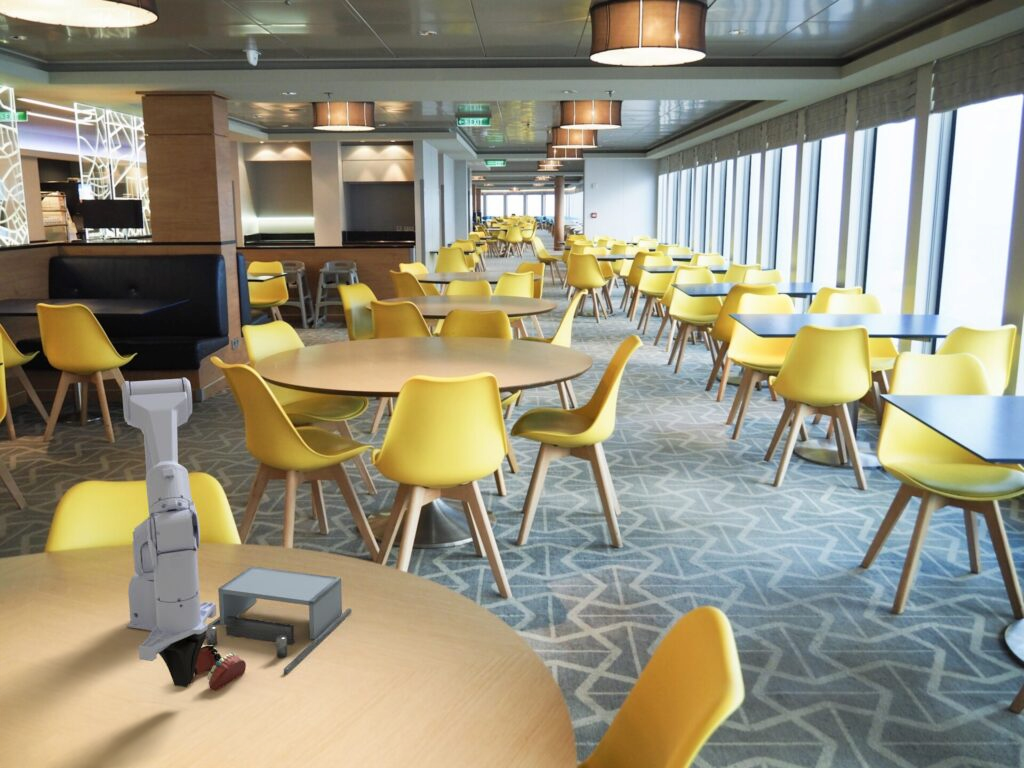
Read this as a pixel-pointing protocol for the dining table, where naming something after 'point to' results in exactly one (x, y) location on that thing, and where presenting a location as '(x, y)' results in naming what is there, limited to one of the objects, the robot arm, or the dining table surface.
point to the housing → (283, 594)
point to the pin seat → (269, 634)
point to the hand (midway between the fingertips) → (183, 684)
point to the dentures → (218, 667)
